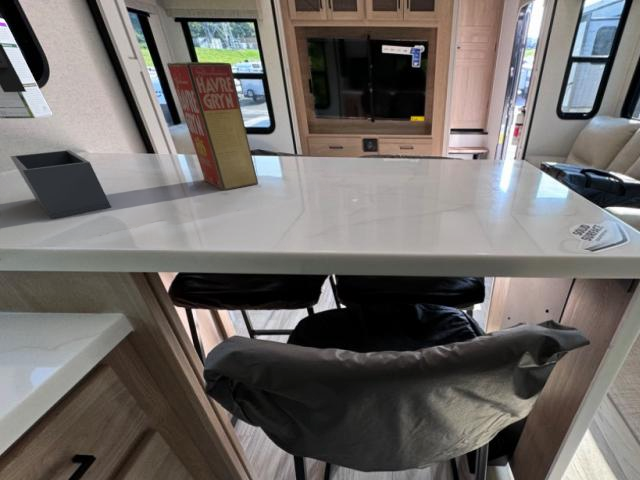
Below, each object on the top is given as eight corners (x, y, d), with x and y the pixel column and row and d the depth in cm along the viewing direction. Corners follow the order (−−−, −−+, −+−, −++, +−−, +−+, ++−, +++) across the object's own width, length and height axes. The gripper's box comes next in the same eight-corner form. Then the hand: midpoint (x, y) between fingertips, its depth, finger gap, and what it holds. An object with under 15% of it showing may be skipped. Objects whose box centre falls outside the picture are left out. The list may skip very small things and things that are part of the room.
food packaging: (201, 180, 87) (164, 61, 72) (237, 174, 92) (209, 63, 78) (222, 191, 79) (185, 61, 65) (260, 183, 84) (233, 62, 70)
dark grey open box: (36, 199, 72) (10, 156, 67) (90, 190, 78) (69, 149, 73) (51, 219, 63) (22, 170, 58) (111, 207, 69) (89, 162, 64)
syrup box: (54, 115, 65) (5, 17, 56) (35, 118, 60) (-21, 12, 52) (18, 115, 63) (-37, 16, 55) (-4, 119, 59) (-68, 10, 51)
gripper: (-51, -115, 43) (50, 92, 56) (-54, -78, 54) (31, 88, 67) (-149, -138, 39) (-14, 93, 51) (-131, -92, 50) (-23, 89, 62)
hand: (11, 90), depth 59 cm, fingers closed on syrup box, 8 cm apart
